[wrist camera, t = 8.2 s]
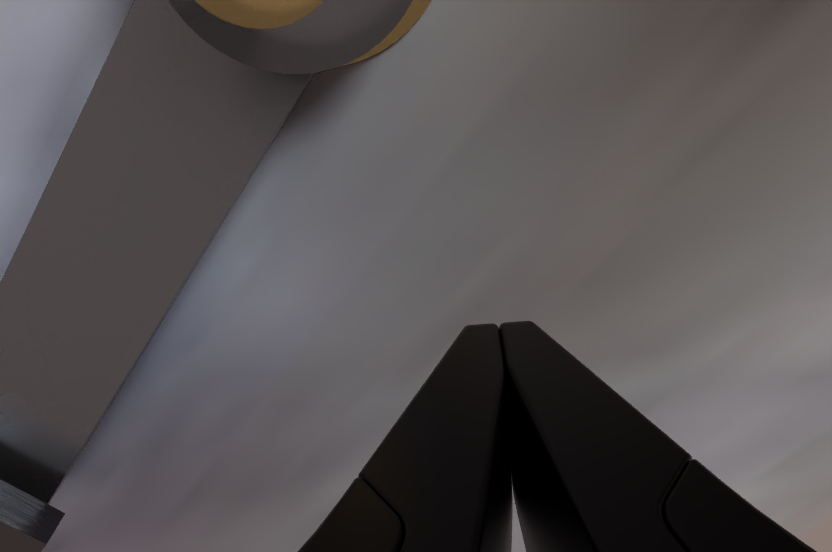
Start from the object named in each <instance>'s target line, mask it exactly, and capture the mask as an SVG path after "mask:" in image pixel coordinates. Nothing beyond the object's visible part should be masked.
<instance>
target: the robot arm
mask: <svg viewBox="0 0 832 552" xmlns="http://www.w3.org/2000/svg"><path fill="white" fill-rule="evenodd" d="M358 477H359V478H356V479H355V480H354V481H353V483H352V484H351V485H350V487H349V488H348V490H347V491H346V492H345V494H344V495H343V497H342V498H341V499H340V501H339V502H338V503H337V505H336V506H335V507H334V508H333V510H332V511H331V512H330V514H329V515H328V516H327V518H326V519H325V520H324V521H323V523H322V524H321V525H320V527H319V528H318V529H317V530H316V532H315V533H314V534H313V535H312V536H311V537H310V538H309V540H308V541H307V542H306V543H305V544H304V545H303V546H302V548H301V549H300V550H299V551H298V552H511V543H512V486H513V493H514V500H515V505H516V509H517V514H518V519H519V523H520V527H521V531H522V535H523V539H524V544H525V548H526V552H816V551H815V550H814V549H812V548H811V547H809V546H808V545H806V544H805V543H804V542H802V541H801V540H799V539H798V538H797V537H795V536H794V535H792V534H791V533H790V532H788V531H787V530H785V529H784V528H783V527H781V526H780V525H778V524H777V523H776V522H774V521H773V520H772V519H770V518H769V517H767V516H766V515H765V514H763V513H762V512H760V511H759V510H758V509H756V508H755V507H754V506H753V505H751V504H750V503H749V502H748V501H746V500H745V499H744V498H742V497H741V496H740V495H739V494H737V493H736V492H735V491H734V490H732V489H731V488H730V487H729V486H727V485H726V484H725V483H724V482H722V481H721V480H720V479H719V478H717V477H716V476H715V475H714V474H713V473H712V472H710V471H709V470H708V469H707V468H706V467H704V466H703V465H702V464H701V463H700V462H699V461H697V460H695V459H692V457H691V455H690V454H689V453H687V452H686V451H685V450H684V449H683V448H682V447H680V446H679V445H678V444H677V443H676V442H674V441H673V440H672V439H671V438H670V437H669V436H667V435H666V434H665V433H664V432H663V431H661V430H660V429H659V428H658V427H657V426H655V425H654V424H653V423H652V422H651V421H650V420H648V419H647V418H646V417H645V416H644V415H642V414H641V413H640V412H639V411H638V410H637V409H635V408H634V407H633V406H632V405H631V404H629V403H628V402H627V401H626V400H625V399H624V398H622V397H621V396H620V395H619V394H618V393H616V392H615V391H614V390H613V389H612V388H611V387H609V386H608V385H607V384H606V383H605V382H603V381H602V380H601V379H600V378H599V377H598V376H596V375H595V374H594V373H593V372H592V371H590V370H589V369H588V368H587V367H586V366H584V365H583V364H582V363H581V362H580V361H579V360H577V359H576V358H575V357H574V356H573V355H571V354H570V353H569V352H568V351H567V350H566V349H564V348H563V347H562V346H561V345H560V344H558V343H557V342H556V341H555V340H554V339H553V338H551V337H550V336H549V335H548V334H547V333H545V332H544V331H543V330H542V329H541V328H540V327H538V326H537V325H536V324H535V323H533V322H531V321H521V322H507V323H503V324H501V325H500V327H499V328H498V326H497V325H495V324H478V325H468V326H466V327H464V329H463V330H462V331H461V333H460V334H459V336H458V337H457V338H456V340H455V341H454V342H453V344H452V345H451V347H450V348H449V349H448V351H447V352H446V354H445V355H444V356H443V358H442V359H441V361H440V362H439V363H438V365H437V366H436V368H435V369H434V370H433V372H432V373H431V375H430V376H429V377H428V379H427V380H426V381H425V383H424V384H423V386H422V387H421V388H420V390H419V391H418V393H417V394H416V395H415V397H414V398H413V400H412V401H411V402H410V404H409V405H408V407H407V408H406V409H405V411H404V412H403V414H402V415H401V416H400V418H399V419H398V421H397V422H396V423H395V425H394V426H393V427H392V429H391V430H390V432H389V433H388V434H387V436H386V437H385V439H384V440H383V441H382V443H381V444H380V446H379V447H378V448H377V450H376V451H375V453H374V454H373V455H372V457H371V458H370V460H369V461H368V462H367V464H366V465H365V467H364V468H363V469H362V471H361V472H360V473H359V476H358ZM511 478H512V480H511Z"/></svg>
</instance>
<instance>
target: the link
mask: <svg viewBox="0 0 832 552" xmlns="http://www.w3.org/2000/svg"><path fill="white" fill-rule="evenodd" d="M412 1H413V0H324V1H323V2H322V3H321V4H320V5H319V6H318V7H316V8H315V9H314V10H313V11H312V12H310V13H309V14H307V15H306V16H305V17H303V18H301V19H299V20H297V21H295V22H293V23H290V24H287V25H284V26H281V27H275V28H267V29H256V28H247V27H243V26H239V25H235V24H232V23H230V22H227V21H224V20H222V19H221V18H219V17H217V16H215V15H213V14H212V13H210V12H209V11H207V10H206V9H204V8H203V7H202V6H201V5H200V4H198V3H197V2H196V1H195V0H134V2H133V4H132V7H131V9H130V11H129V13H128V15H127V17H126V19H125V21H124V23H123V26H122V28H121V30H120V32H119V34H118V36H117V38H116V40H115V42H114V45H113V47H112V49H111V51H110V53H109V55H108V57H107V59H106V61H105V64H104V66H103V68H102V70H101V72H100V74H99V76H98V78H97V80H96V83H95V85H94V87H93V89H92V91H91V93H90V95H89V97H88V99H87V102H86V104H85V106H84V108H83V110H82V112H81V114H80V116H79V118H78V121H77V123H76V125H75V127H74V129H73V131H72V133H71V135H70V137H69V140H68V142H67V144H66V146H65V148H64V150H63V152H62V154H61V156H60V159H59V161H58V163H57V165H56V167H55V169H54V171H53V173H52V175H51V178H50V180H49V182H48V184H47V186H46V188H45V190H44V192H43V194H42V197H41V199H40V201H39V203H38V205H37V207H36V209H35V211H34V213H33V216H32V218H31V220H30V222H29V224H28V226H27V228H26V230H25V232H24V235H23V237H22V239H21V241H20V243H19V245H18V247H17V249H16V251H15V254H14V256H13V258H12V260H11V262H10V264H9V266H8V268H7V270H6V273H5V275H4V277H3V279H2V281H1V283H0V479H1V480H3V481H5V482H6V483H8V484H10V485H12V486H14V487H16V488H18V489H20V490H22V491H23V492H25V493H27V494H29V495H31V496H33V497H35V498H37V499H39V500H41V501H42V502H44V503H46V504H49V503H50V501H51V500H52V498H53V497H54V495H55V494H56V492H57V490H58V489H59V487H60V486H61V484H62V483H63V481H64V479H65V478H66V476H67V474H68V473H69V471H70V470H71V468H72V466H73V465H74V463H75V461H76V460H77V458H78V457H79V455H80V453H81V452H82V450H83V448H84V447H85V445H86V444H87V442H88V440H89V439H90V437H91V435H92V434H93V432H94V431H95V429H96V427H97V426H98V424H99V422H100V421H101V419H102V418H103V416H104V414H105V413H106V411H107V409H108V408H109V406H110V405H111V403H112V401H113V400H114V398H115V396H116V395H117V393H118V392H119V390H120V388H121V387H122V385H123V384H124V382H125V380H126V379H127V377H128V375H129V374H130V372H131V371H132V369H133V367H134V366H135V364H136V362H137V361H138V359H139V358H140V356H141V354H142V353H143V351H144V349H145V348H146V346H147V345H148V343H149V341H150V340H151V338H152V336H153V335H154V333H155V332H156V330H157V328H158V327H159V325H160V323H161V322H162V320H163V319H164V317H165V315H166V314H167V312H168V310H169V309H170V307H171V306H172V304H173V302H174V301H175V299H176V298H177V296H178V294H179V293H180V291H181V289H182V288H183V286H184V285H185V283H186V281H187V280H188V278H189V276H190V275H191V273H192V272H193V270H194V268H195V267H196V265H197V263H198V262H199V260H200V259H201V257H202V255H203V254H204V252H205V250H206V249H207V247H208V246H209V244H210V242H211V241H212V239H213V237H214V236H215V234H216V233H217V231H218V229H219V228H220V226H221V224H222V223H223V221H224V220H225V218H226V216H227V215H228V213H229V212H230V210H231V208H232V207H233V205H234V203H235V202H236V200H237V199H238V197H239V195H240V194H241V192H242V190H243V189H244V187H245V186H246V184H247V182H248V181H249V179H250V177H251V176H252V174H253V173H254V171H255V169H256V168H257V166H258V164H259V163H260V161H261V160H262V158H263V156H264V155H265V153H266V151H267V150H268V148H269V147H270V145H271V143H272V142H273V140H274V138H275V137H276V135H277V134H278V132H279V130H280V129H281V127H282V125H283V124H284V122H285V121H286V119H287V117H288V116H289V114H290V113H291V111H292V109H293V108H294V106H295V104H296V103H297V101H298V100H299V98H300V96H301V95H302V93H303V91H304V90H305V88H306V87H307V85H308V83H309V82H310V80H311V78H312V77H313V75H314V74H315V73H317V72H322V71H326V70H330V69H334V68H337V67H340V66H342V65H344V64H347V63H349V62H352V61H354V60H355V59H357V58H359V57H361V56H362V55H364V54H366V53H367V52H369V51H370V50H371V49H373V48H374V47H375V46H376V45H378V44H379V43H380V42H381V41H382V40H383V39H384V38H385V37H386V36H387V35H388V34H389V33H390V32H391V31H392V30H393V29H394V28H395V27H396V25H397V24H398V23H399V21H400V20H401V19H402V17H403V16H404V15H405V13H406V11H407V10H408V8H409V6H410V4H411V2H412Z"/></svg>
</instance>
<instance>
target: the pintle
mask: <svg viewBox="0 0 832 552" xmlns="http://www.w3.org/2000/svg"><path fill="white" fill-rule="evenodd" d="M195 1H196V2H197V3H198V4H200V5H201V6H202V7H203V8H204V9H206V10H207V11H209V12H210V13H212V14H213V15H215V16H217V17H219V18H221V19H222V20H224V21H227V22H230V23H232V24H235V25H239V26H243V27H247V28H256V29H267V28H275V27H281V26H284V25H287V24H290V23H293V22H295V21H297V20H299V19H301V18H303V17H305V16H306V15H307V14H309V13H310V12H312V11H313V10H314V9H315V8H316V7H318V6H319V5H320V4H321V3H322V2H323V1H324V0H195ZM430 2H431V0H413V1H412V2H411V4H410V6H409V8H408V10H407V11H406V13H405V15H404V16H403V17H402V19H401V20H400V21H399V23H398V24H397V25H396V27H395V28H394V29H393V30H392V31H391V32H390V33H389V34H388V35H387V36H386V37H385V38H384V39H383V40H382V41H381V42H380V43H379V44H378V45H376V46H375V47H374V48H373V49H371V50H370V51H369V52H367V53H366V54H364V55H362V56H361V57H359V58H357V59H355V60H354V61H352V62H349V63H347V64H344V65H349V64H352V63H355V62H358V61H361V60H365V59H367V58H369V57H371V56H373V55H375V54H377V53H379V52H381V51H383V50H384V49H386V48H387V47H389V46H390V45H392V44H393V43H395V42H396V41H397V40H398V39H399V38H401V37H402V36H403V35H404V34H405V33H406V32H408V31H409V29H410V28H411V27H412V26H413V25H414V24H415V23H416V22H417V20H418V19H419V18H420V17H421V15H422V14H423V13H424V11H425V10H426V8H427V7H428V5H429V4H430ZM342 66H343V65H342Z"/></svg>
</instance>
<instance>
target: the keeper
mask: <svg viewBox="0 0 832 552" xmlns="http://www.w3.org/2000/svg"><path fill="white" fill-rule="evenodd" d="M64 515H65V513H63V512H61V511H59V510H58V509H56V508H54V507H52V506H50V505H48V504H46V503H44V502H42V501H41V500H39V499H37V498H35V497H33V496H31V495H29V494H27V493H25V492H23V491H22V490H20V489H18V488H16V487H14V486H12V485H10V484H8V483H6V482H5V481H3V480H1V479H0V552H40V551H41V550H42V549H43V548H44V547H45V545H46V544H47V542H48V541H49V539H50V537H51V536H52V534H53V533H54V531H55V529H56V528H57V526H58V524H59V523H60V521H61V519H62V518H63V516H64Z"/></svg>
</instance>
